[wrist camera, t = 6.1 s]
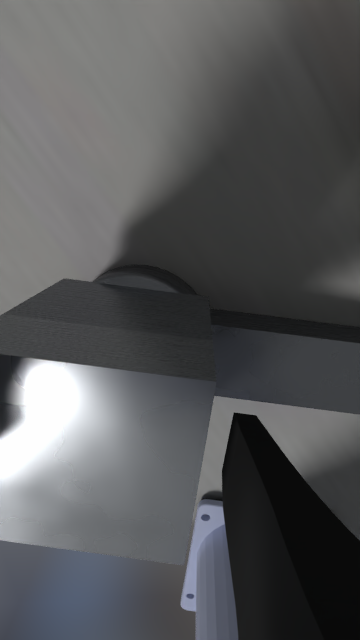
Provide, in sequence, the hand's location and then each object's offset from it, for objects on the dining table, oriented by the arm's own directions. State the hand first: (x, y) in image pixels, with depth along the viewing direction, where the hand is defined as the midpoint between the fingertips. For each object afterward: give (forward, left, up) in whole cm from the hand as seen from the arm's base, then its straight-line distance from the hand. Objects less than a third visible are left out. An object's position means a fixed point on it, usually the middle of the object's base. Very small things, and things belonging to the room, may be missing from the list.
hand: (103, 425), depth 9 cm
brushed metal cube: (0, 0, -4) cm, 4 cm away
